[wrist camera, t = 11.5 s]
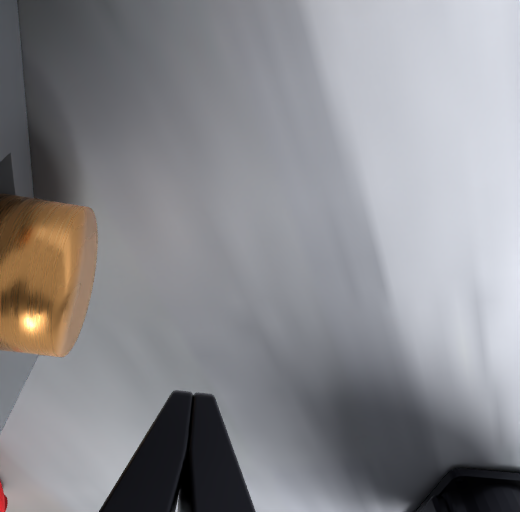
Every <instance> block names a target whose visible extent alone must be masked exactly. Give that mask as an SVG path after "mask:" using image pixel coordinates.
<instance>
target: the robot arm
mask: <svg viewBox="0 0 520 512" xmlns="http://www.w3.org/2000/svg"><path fill="white" fill-rule="evenodd" d="M178 495H179V499H178ZM177 500H178V512H256V511H255V509H254V506H253V503H252V500H251V497H250V495H249V492H248V489H247V486H246V483H245V481H244V478H243V475H242V472H241V469H240V467H239V464H238V461H237V458H236V455H235V453H234V450H233V447H232V444H231V441H230V439H229V436H228V433H227V430H226V427H225V425H224V422H223V419H222V416H221V413H220V411H219V408H218V405H217V402H216V399H215V397H214V396H213V395H212V394H205V393H195V394H194V395H193V394H192V393H191V392H187V391H177V390H175V391H173V392H172V393H171V395H170V396H169V398H168V400H167V401H166V403H165V404H164V406H163V408H162V409H161V411H160V413H159V414H158V416H157V418H156V419H155V421H154V422H153V424H152V426H151V427H150V429H149V431H148V432H147V434H146V435H145V437H144V439H143V440H142V442H141V444H140V445H139V447H138V449H137V450H136V452H135V453H134V455H133V457H132V458H131V460H130V462H129V463H128V465H127V466H126V468H125V470H124V471H123V473H122V475H121V476H120V478H119V479H118V481H117V483H116V484H115V486H114V488H113V489H112V491H111V493H110V494H109V496H108V497H107V499H106V501H105V502H104V504H103V506H102V507H101V509H100V510H99V512H175V510H176V505H177ZM416 512H520V473H509V472H498V471H487V470H475V469H464V468H457V469H453V470H451V471H450V472H448V474H447V475H446V476H445V477H444V478H443V479H442V481H441V482H440V483H439V484H438V485H437V487H436V488H435V489H434V490H433V491H432V493H431V494H430V495H429V496H428V497H427V499H426V500H425V501H424V502H423V503H422V505H421V506H420V507H419V508H418V509H417V510H416Z"/></svg>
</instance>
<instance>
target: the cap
mask: <svg viewBox="0 0 520 512" xmlns="http://www.w3.org/2000/svg"><path fill="white" fill-rule="evenodd" d="M6 508H7V497H6V496H5V495H4V493H3V488H2V484H1V481H0V512H5V511H6Z"/></svg>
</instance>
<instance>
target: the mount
mask: <svg viewBox="0 0 520 512" xmlns="http://www.w3.org/2000/svg"><path fill="white" fill-rule="evenodd" d="M2 193H4V194H10V195H16V196H23V197H29V198H34V192H33V180H32V168H31V157H30V145H29V133H28V121H27V110H26V98H25V86H24V74H23V63H22V51H21V39H20V27H19V16H18V4H17V0H0V194H2ZM37 357H38V354H29V353H20V352H11V351H3V350H0V433H1V431H2V429H3V427H4V425H5V423H6V421H7V419H8V417H9V415H10V413H11V411H12V409H13V407H14V405H15V403H16V400H17V398H18V396H19V394H20V392H21V390H22V388H23V386H24V384H25V382H26V380H27V378H28V376H29V374H30V372H31V370H32V368H33V365H34V363H35V361H36V359H37Z"/></svg>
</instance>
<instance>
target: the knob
mask: <svg viewBox="0 0 520 512" xmlns="http://www.w3.org/2000/svg"><path fill="white" fill-rule="evenodd" d="M97 243H98V235H97V223H96V217H95V214H94V212H93V210H92V209H91V208H89V207H84V206H78V205H72V204H66V203H60V202H54V201H47V200H41V199H35V198H29V197H23V196H16V195H10V194H4V193H2V194H0V350H3V351H11V352H20V353H29V354H38V355H47V356H56V357H64V356H66V355H67V354H68V353H69V352H70V350H71V349H72V347H73V346H74V344H75V342H76V340H77V338H78V336H79V333H80V331H81V328H82V325H83V322H84V319H85V316H86V313H87V309H88V305H89V301H90V297H91V292H92V287H93V282H94V275H95V268H96V259H97Z"/></svg>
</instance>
